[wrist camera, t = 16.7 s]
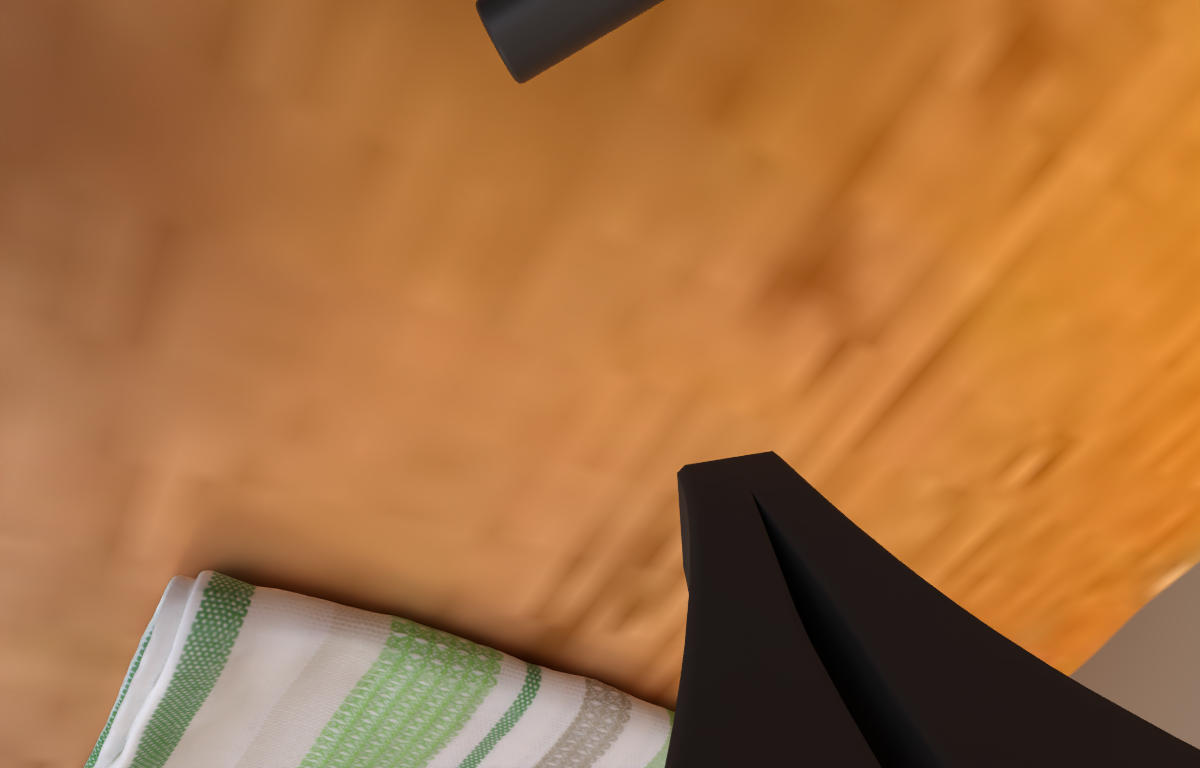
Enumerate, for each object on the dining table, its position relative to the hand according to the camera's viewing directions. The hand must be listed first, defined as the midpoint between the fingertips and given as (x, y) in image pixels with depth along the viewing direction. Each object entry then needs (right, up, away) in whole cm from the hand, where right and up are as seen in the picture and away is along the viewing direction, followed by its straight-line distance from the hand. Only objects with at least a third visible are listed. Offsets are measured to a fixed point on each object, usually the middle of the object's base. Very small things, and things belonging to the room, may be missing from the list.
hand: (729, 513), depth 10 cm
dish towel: (-9, -14, +20) cm, 26 cm away
